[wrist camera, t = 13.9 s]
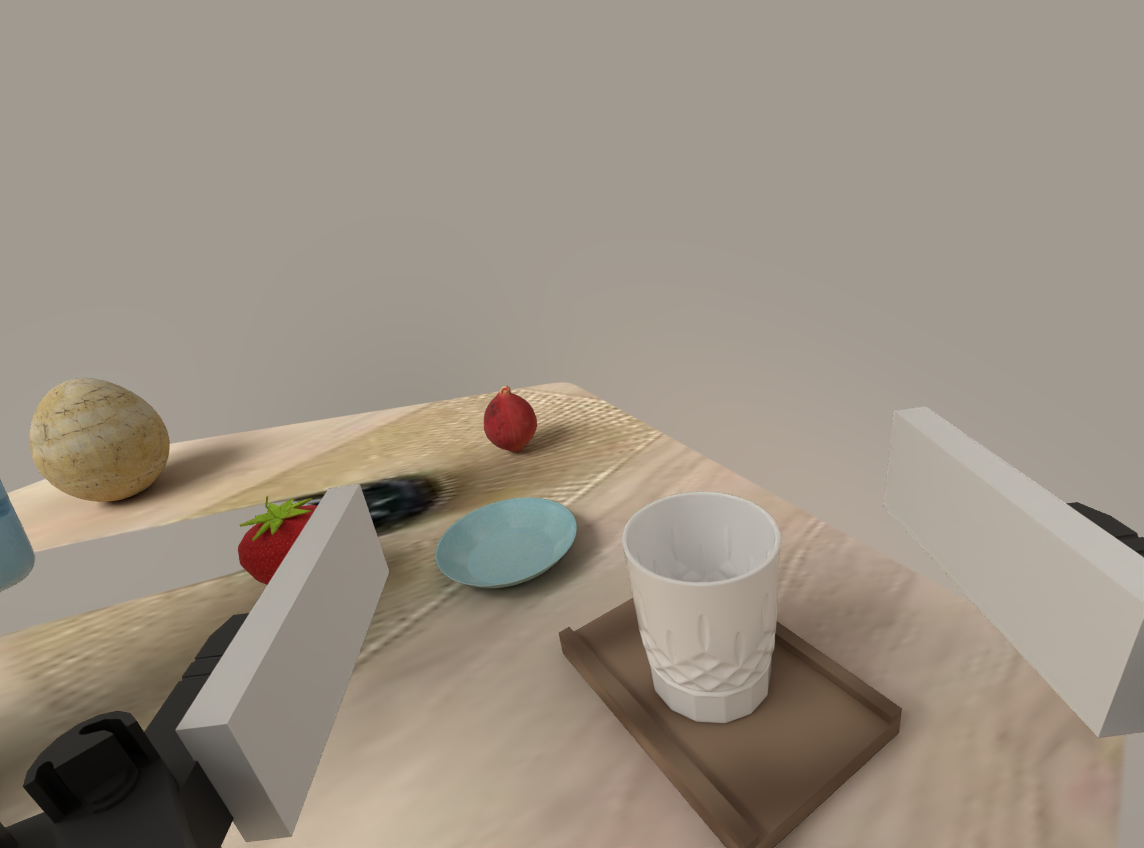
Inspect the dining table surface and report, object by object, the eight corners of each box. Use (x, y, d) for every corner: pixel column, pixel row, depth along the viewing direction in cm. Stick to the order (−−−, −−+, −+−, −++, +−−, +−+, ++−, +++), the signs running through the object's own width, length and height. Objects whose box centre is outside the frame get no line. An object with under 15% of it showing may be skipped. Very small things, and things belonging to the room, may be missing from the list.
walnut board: (562, 653, 39) (558, 632, 38) (689, 578, 43) (687, 559, 43) (746, 871, 26) (745, 847, 25) (898, 732, 30) (901, 708, 30)
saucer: (420, 609, 45) (412, 586, 44) (465, 520, 56) (460, 499, 55) (570, 607, 43) (565, 582, 42) (588, 514, 54) (584, 493, 53)
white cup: (736, 609, 38) (730, 477, 34) (811, 705, 31) (815, 554, 27) (622, 647, 37) (601, 514, 33) (675, 756, 30) (657, 605, 26)
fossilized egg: (148, 514, 67) (82, 392, 60) (40, 530, 67) (-36, 411, 61) (207, 461, 78) (158, 354, 72) (115, 475, 79) (58, 370, 72)
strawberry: (367, 591, 48) (327, 486, 44) (268, 636, 45) (216, 528, 40) (351, 557, 53) (314, 460, 48) (262, 596, 49) (214, 495, 45)
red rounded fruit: (504, 470, 63) (489, 402, 60) (483, 453, 68) (467, 389, 65) (550, 450, 66) (538, 384, 62) (526, 435, 70) (514, 373, 67)
